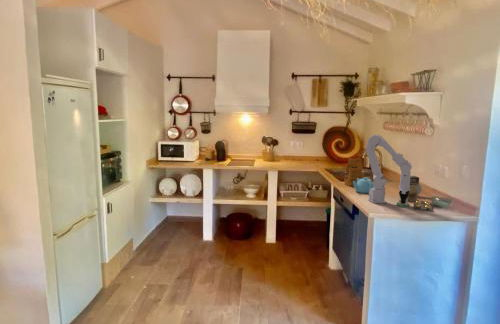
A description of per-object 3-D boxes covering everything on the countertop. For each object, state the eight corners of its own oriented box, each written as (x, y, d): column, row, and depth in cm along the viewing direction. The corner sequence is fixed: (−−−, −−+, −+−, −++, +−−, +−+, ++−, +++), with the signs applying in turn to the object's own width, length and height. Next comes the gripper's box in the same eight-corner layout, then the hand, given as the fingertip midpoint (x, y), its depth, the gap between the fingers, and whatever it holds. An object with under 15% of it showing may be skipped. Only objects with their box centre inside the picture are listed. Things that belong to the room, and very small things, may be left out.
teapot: (351, 192, 242) (351, 177, 240) (356, 188, 254) (357, 174, 253) (372, 195, 234) (373, 180, 232) (377, 191, 246) (378, 177, 244)
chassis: (432, 211, 195) (432, 204, 195) (413, 209, 200) (414, 202, 199) (431, 206, 207) (431, 199, 206) (413, 204, 211) (414, 197, 211)
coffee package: (343, 183, 270) (344, 157, 267) (357, 183, 271) (359, 157, 268) (347, 186, 260) (349, 159, 257) (362, 186, 261) (364, 159, 258)
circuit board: (408, 208, 202) (409, 202, 202) (396, 206, 205) (396, 200, 205) (409, 204, 211) (409, 198, 211) (397, 202, 214) (397, 196, 214)
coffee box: (403, 201, 219) (405, 177, 217) (399, 198, 225) (401, 175, 223) (417, 201, 219) (419, 177, 217) (412, 198, 226) (414, 175, 223)
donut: (419, 195, 235) (421, 181, 233) (422, 196, 231) (423, 182, 230) (405, 195, 235) (406, 181, 233) (407, 196, 232) (408, 182, 230)
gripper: (411, 184, 198) (409, 206, 200) (412, 180, 211) (410, 200, 213) (399, 183, 201) (397, 204, 203) (400, 179, 214) (398, 199, 216)
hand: (403, 202), depth 208 cm, fingers open, 4 cm apart
